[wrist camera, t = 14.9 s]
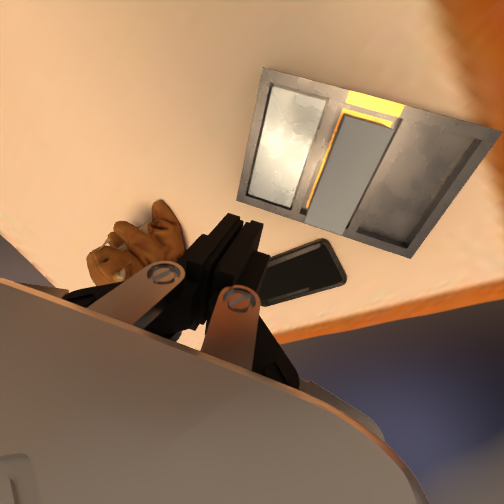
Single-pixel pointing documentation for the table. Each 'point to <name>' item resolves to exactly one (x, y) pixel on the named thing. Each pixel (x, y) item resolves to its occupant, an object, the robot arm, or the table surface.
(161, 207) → the stuffed squirrel
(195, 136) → the table surface
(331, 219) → the gray rectangular block
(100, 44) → the table surface
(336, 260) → the phone
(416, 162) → the gray divided tray
